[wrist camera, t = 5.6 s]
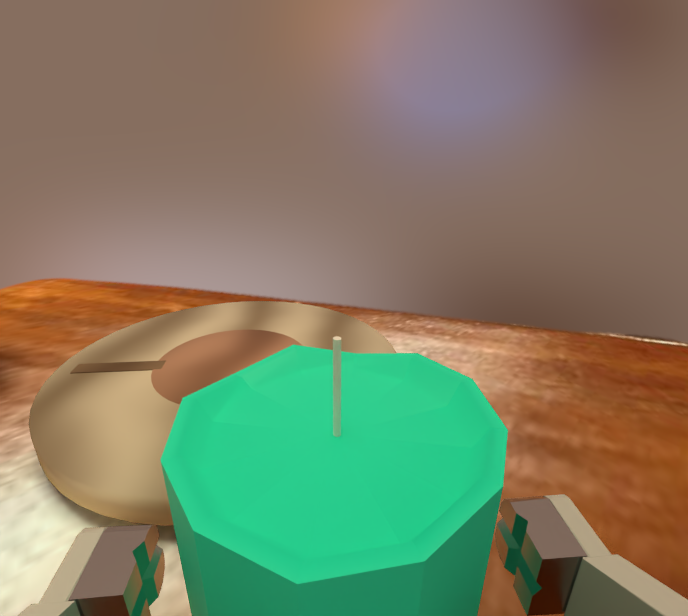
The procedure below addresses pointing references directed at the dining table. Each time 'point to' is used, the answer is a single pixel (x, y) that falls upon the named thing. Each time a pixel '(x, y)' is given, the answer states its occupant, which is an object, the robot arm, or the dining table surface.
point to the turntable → (160, 394)
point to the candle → (335, 487)
